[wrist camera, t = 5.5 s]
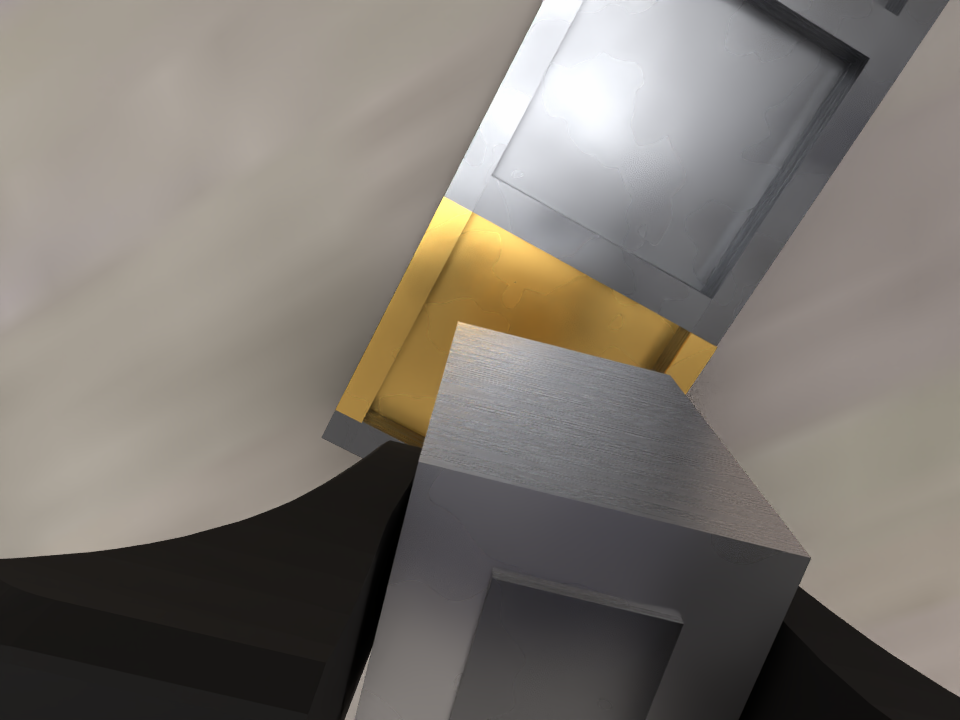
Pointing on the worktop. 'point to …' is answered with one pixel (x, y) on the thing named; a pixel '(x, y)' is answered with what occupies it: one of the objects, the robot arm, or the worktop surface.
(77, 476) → the worktop surface
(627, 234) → the silver divided tray
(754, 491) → the brushed steel square tube
